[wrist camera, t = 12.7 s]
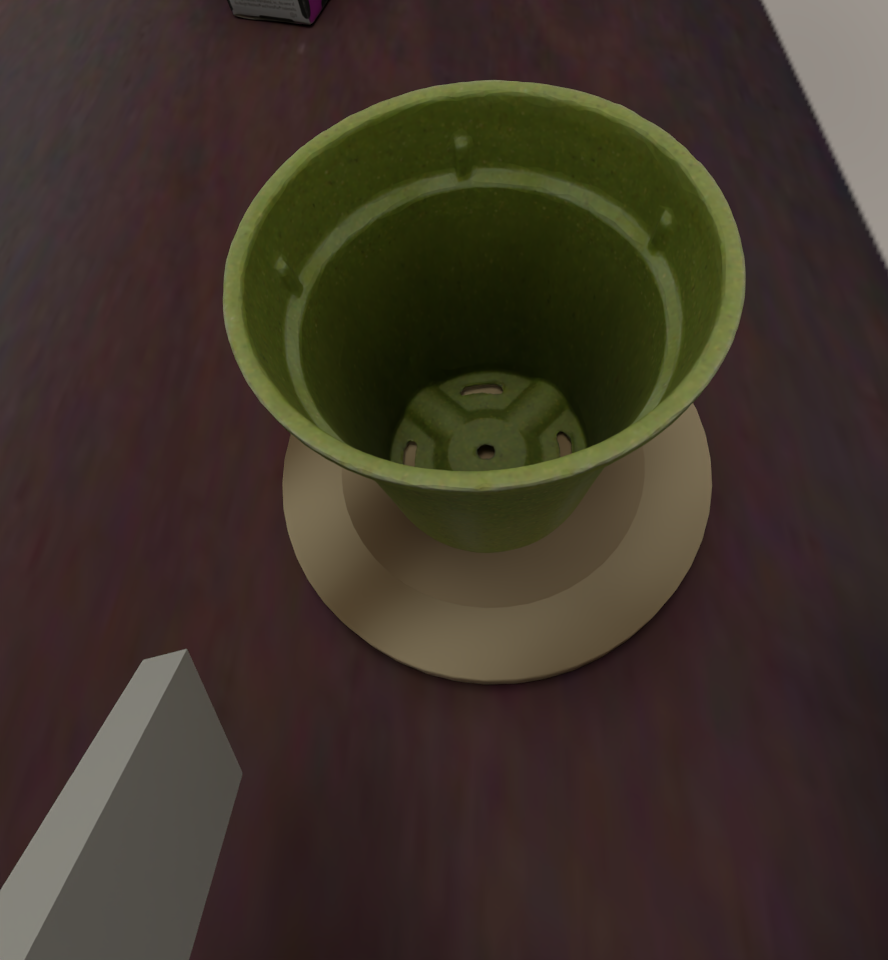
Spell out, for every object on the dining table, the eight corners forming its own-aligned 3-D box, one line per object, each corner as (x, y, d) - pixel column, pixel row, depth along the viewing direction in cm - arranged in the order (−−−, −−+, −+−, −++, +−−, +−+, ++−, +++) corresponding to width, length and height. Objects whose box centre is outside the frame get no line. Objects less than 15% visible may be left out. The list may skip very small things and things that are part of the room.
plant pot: (619, 318, 21) (681, 49, 13) (679, 598, 17) (820, 456, 9) (341, 349, 22) (241, 110, 14) (337, 626, 18) (195, 514, 10)
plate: (215, 539, 21) (196, 526, 19) (434, 264, 24) (430, 239, 23) (573, 783, 17) (577, 784, 15) (768, 409, 20) (783, 388, 19)
